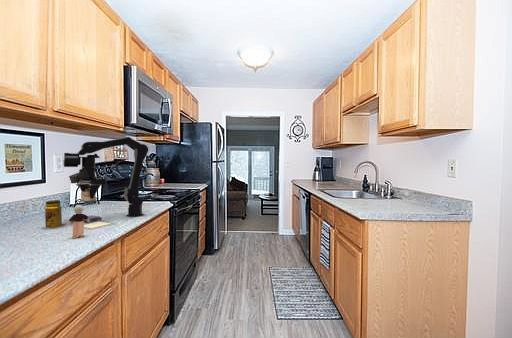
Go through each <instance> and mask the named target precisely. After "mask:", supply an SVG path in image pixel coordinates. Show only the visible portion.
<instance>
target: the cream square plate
mask: <svg viewBox="0 0 512 338" xmlns="http://www.w3.org/2000/svg"><path fill="white" fill-rule="evenodd" d="M113 225H117V222H109V221H104V220H103V221H102V220H97V221H92V222H87V223H84V230H87V231H88V230H90V231H93V230H96V229H100V228H105V227H108V226H113Z"/></svg>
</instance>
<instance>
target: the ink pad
mask: <svg viewBox="0 0 512 338" xmlns="http://www.w3.org/2000/svg"><path fill="white" fill-rule="evenodd" d="M87 216H88V218H89V220H90V222H89V223H91V222H96V221H102V217H100V216H99V215H87ZM83 221H84V224H87V223H88V222H87V220H85V219H83ZM71 223H74V221H72V222H71Z"/></svg>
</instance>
